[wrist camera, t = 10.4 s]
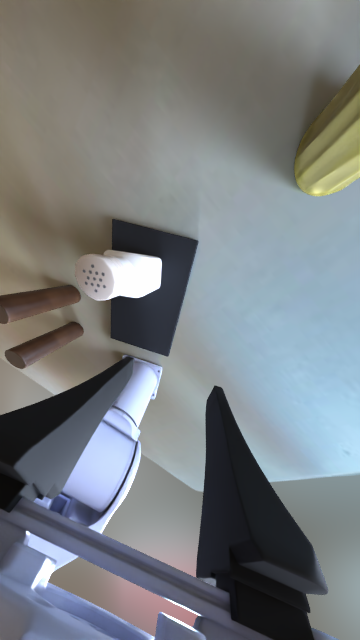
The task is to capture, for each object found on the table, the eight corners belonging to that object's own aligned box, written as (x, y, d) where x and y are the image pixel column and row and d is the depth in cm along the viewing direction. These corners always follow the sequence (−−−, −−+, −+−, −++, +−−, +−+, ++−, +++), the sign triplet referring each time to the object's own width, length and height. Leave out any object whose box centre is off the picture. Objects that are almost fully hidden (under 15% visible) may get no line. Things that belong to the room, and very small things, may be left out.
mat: (168, 354, 24) (168, 356, 23) (112, 336, 24) (110, 338, 24) (198, 241, 16) (198, 240, 15) (115, 220, 17) (112, 218, 16)
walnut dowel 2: (84, 337, 26) (27, 371, 18) (70, 333, 26) (8, 364, 18) (83, 324, 24) (21, 354, 16) (68, 319, 25) (1, 347, 17)
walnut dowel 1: (81, 304, 23) (11, 327, 15) (66, 299, 23) (-12, 319, 15) (79, 287, 22) (3, 302, 13) (63, 283, 22) (-22, 294, 14)
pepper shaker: (134, 253, 17) (63, 243, 9) (163, 257, 17) (118, 250, 8) (134, 284, 19) (75, 301, 10) (161, 288, 18) (122, 310, 10)
